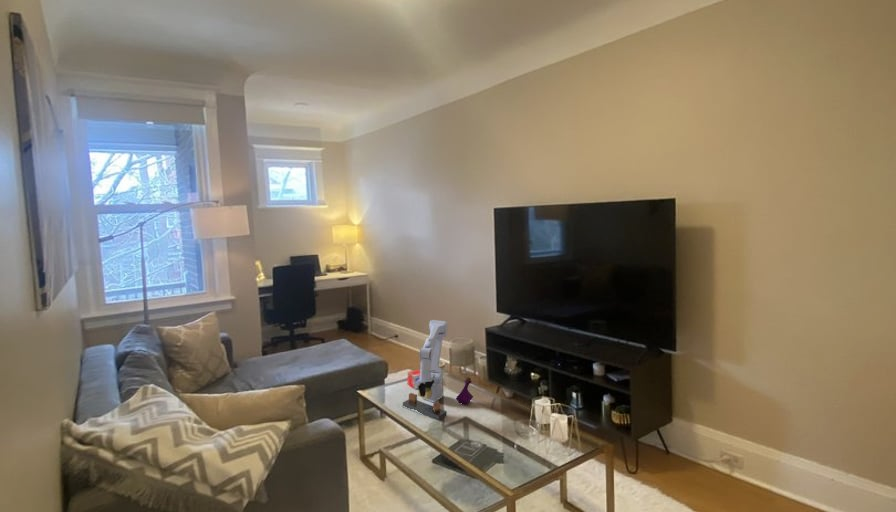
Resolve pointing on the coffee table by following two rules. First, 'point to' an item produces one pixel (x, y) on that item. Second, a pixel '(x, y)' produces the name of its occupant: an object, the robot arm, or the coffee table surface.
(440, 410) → the hand plane
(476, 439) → the coffee table surface
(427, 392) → the lever cap
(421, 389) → the robot arm
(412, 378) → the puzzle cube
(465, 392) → the perfume bottle
